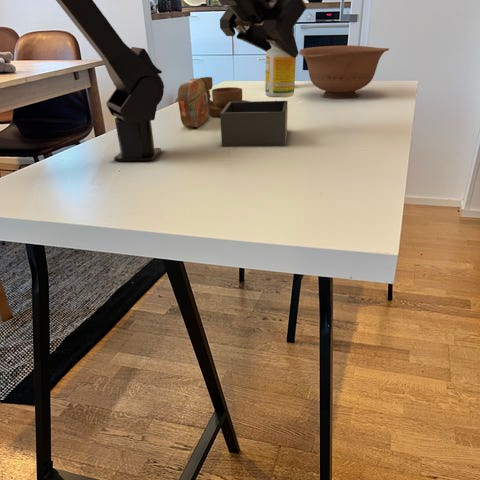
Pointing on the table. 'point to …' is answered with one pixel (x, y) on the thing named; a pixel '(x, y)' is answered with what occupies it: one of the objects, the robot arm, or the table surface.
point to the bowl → (342, 68)
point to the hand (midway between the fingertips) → (287, 54)
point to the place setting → (222, 97)
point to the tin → (194, 102)
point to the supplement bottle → (279, 73)
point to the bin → (254, 123)
